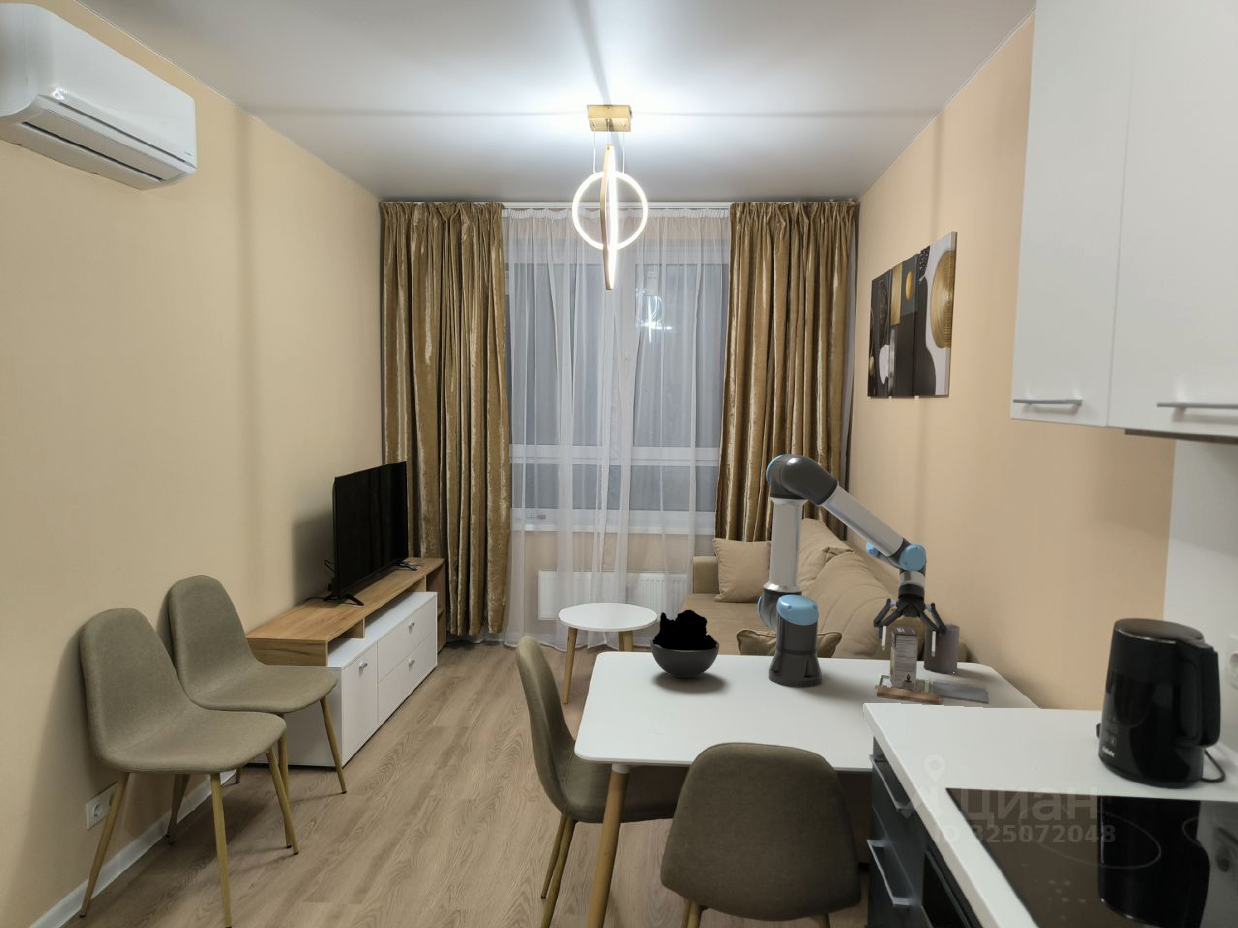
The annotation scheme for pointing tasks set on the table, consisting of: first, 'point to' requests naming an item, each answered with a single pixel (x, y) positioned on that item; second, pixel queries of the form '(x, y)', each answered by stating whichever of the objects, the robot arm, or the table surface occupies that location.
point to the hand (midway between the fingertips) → (908, 650)
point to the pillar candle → (942, 650)
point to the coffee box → (903, 657)
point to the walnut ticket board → (908, 695)
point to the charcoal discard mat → (960, 692)
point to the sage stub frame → (900, 687)
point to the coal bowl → (684, 645)
